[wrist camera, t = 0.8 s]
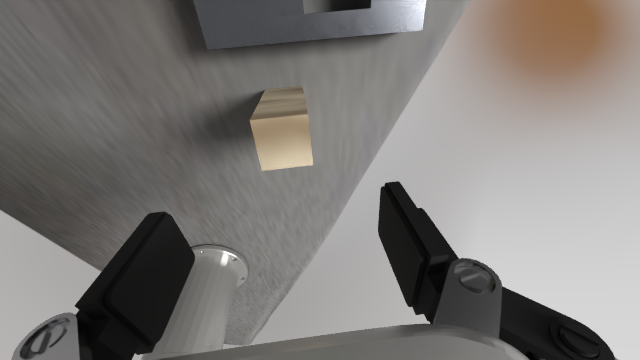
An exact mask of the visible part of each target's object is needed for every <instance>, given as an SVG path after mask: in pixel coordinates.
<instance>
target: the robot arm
mask: <svg viewBox="0 0 640 360" xmlns="http://www.w3.org/2000/svg"><path fill="white" fill-rule="evenodd" d="M378 233H379V237H380V239H381V242H382V244H383V247H384V249H385V252H386V254H387V257H388V259H389V262H390V264H391V267H392V269H393V272H394V274H395V276H396V278H397V281H398V284H399V286H400V289H401V291H402V293H403V296H404V299H405V301H406V303H407V305H408V306H409V307H413V309H414V312H415V314H416V315H419V314H424V315H425V317H426V319H427V321H429V322H430V324H414V325H400V326H391V327H384V328H374V329H366V330H358V331H350V332H343V333H336V334H328V335H321V336H314V337H307V338H300V339H292V340H285V341H278V342H271V343H264V344H257V345H250V346H243V347H236V348H229V349H222V348H223V344H224V339H225V335H226V330H227V326H228V322H229V317H230V313H231V308H232V306H233V299H234V295H235V290H236V288H237V287H239V286H241V285H242V284H243V283H244V282H245V280H246V278H247V275H248V265H247V262H246V261H245V259H244V258H243V257H242V256H241V255H240V254H238V253H237V252H235V251H233V250H231V249H229V248H226V247H222V246H216V245H202V246H197V247H193V248H191V247H190V246H189V244H188V242H187V241H186V239H185V237H184V236H183V234H182V232H181V231H180V229H179V227H178V226H177V224H176V222H175V221H174V219H173V217H172V216H171V215H170V214H167V213H166V212H156V213H150V214H148V215H147V216H146V217H145V218H144V220H143V221H142V222H141V223H140V225H139V226H138V227H137V228H136V230H135V231H134V232H133V233H132V235H131V236H130V237H129V238H128V240H127V241H126V242H125V243H124V245H123V246H122V247H121V248H120V250H119V251H118V252H117V253H116V255H115V256H114V257H113V258H112V260H111V261H110V262H109V263H108V265H107V266H106V267H105V268H104V270H103V271H102V272H101V273H100V275H99V276H98V277H97V278H96V280H95V281H94V282H93V284H92V285H91V286H90V287H89V288H88V290H87V291H86V292H85V293H84V295H83V296H82V297H81V299H80V300H79V301H78V302H77V303H76V305H75V307H77V308H78V309H79V311H78V313H77V314H76V315H75V314H73V313H63V314H59V315H56V316H54V317H52V318H50V319H48V320H46V321H45V322H43V323H42V324H40V325H39V326H37V327H36V328H35V329H34V330H33V331H31V332H30V333H29V334H28V335H27V336H26V337H25V338H24V339H23V340H22V341H21V342H20V344H19V345H18V347H17V348H16V349H15V351H14V354H13V357H12V360H132V358H133V356H134V354H135V353H136V354H137V355H140V354H143V356H142V359H141V360H618V359H616V358H615V357H614V355H613V353H612V351H611V350H610V348H609V347H608V345H607V344H606V343H605V342H604V341H603V340H602V339H601V338H600V337H599V336H598V335H597V334H596V333H595V332H593V331H592V330H591V329H590V328H588V327H587V326H585V325H583V324H582V323H580V322H578V321H576V320H574V319H572V318H570V317H568V316H566V315H563V314H561V313H559V312H557V311H554V310H552V309H550V308H548V307H546V306H544V305H541V304H539V303H537V302H535V301H533V300H531V299H528V298H526V297H524V296H522V295H520V294H518V293H516V292H513V291H511V290H509V289H506V288H505V287H502V283H501V281H500V279H499V277H498V275H497V274H496V273H495V272H494V271H493V270H492V269H491V268H489V267H488V266H487V265H485V264H483V263H481V262H479V261H477V260H473V259H468V258H461V259H459V258H458V257H457V255H456V254H455V253H454V251H453V250H452V248H451V247H450V245H449V244H448V243H447V241H446V240H445V238H444V237H443V236H442V234H441V233H440V232H439V230H438V229H437V227H436V226H435V224H434V223H433V222H432V220H431V219H430V217H429V216H428V215H427V213H426V212H425V211H424V210H423V209H422V208H417V207H416V205H415V204H414V203H413V201H412V200H411V198H410V197H409V195H408V194H407V192H406V191H405V189H404V188H403V186H402V185H401V184H400V182H389V183H385V186H383V187H381V194H380V210H379V223H378Z"/></svg>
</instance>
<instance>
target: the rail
mask: <svg viewBox="0 0 640 360" xmlns="http://www.w3.org/2000/svg"><path fill="white" fill-rule="evenodd" d="M193 2H194V5H195V9H196V12H197V16H198V19H199V22H200V26H201V29H202V33H203V36H204V39H205V43H206V46H207V49H208V50H211V49H222V48H232V47H243V46H254V45H265V44H276V43H287V42H298V41H309V40H319V39H330V38H341V37H352V36H363V35H374V34H385V33H396V32H406V31H417V30H422V27H423V20H424V13H425V5H426V0H358V9H357V10H346V11H334V12H323V13H311V14H304V10H303V0H193Z"/></svg>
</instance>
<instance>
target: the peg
mask: <svg viewBox="0 0 640 360" xmlns="http://www.w3.org/2000/svg"><path fill="white" fill-rule="evenodd" d="M250 124H251V128H252V132H253V136H254V140H255V145H256V149H257V153H258V157H259V161H260V165H261V169H262V171H265V170H274V169H282V168H291V167H300V166H308V165H313V159H312V149H311V140H310V130H309V121H308V113H307V107H306V102H305V97H304V92H303V87H302V86H298V87H288V88H278V89H268V90H265V91H264V93H263V95H262V97H261V99H260V101H259V103H258V105H257V107H256V109H255V111H254V113H253V115H252V117H251V119H250Z"/></svg>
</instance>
